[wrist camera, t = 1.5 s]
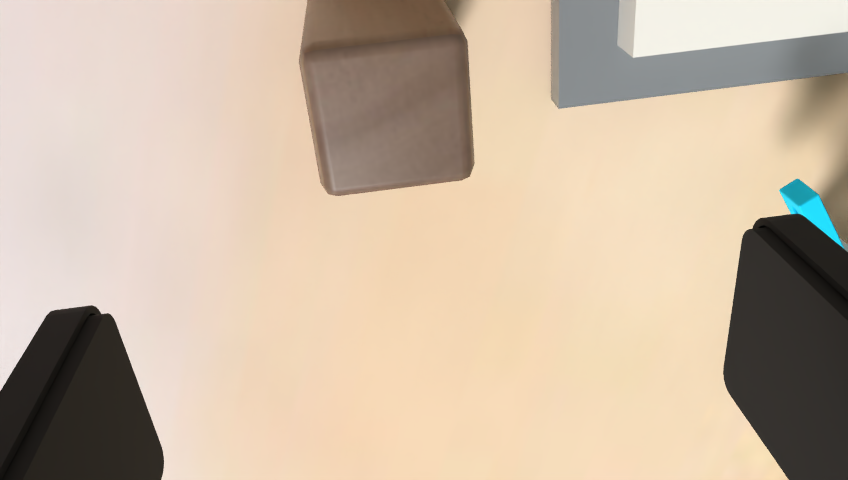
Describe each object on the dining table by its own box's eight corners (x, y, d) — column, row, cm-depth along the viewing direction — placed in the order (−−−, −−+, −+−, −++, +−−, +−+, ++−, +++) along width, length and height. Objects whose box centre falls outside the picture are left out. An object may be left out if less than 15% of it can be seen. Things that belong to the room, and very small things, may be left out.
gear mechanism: (891, 413, 37) (1048, 580, 29) (792, 464, 38) (917, 639, 30) (737, 116, 27) (906, 240, 19) (614, 197, 29) (724, 345, 21)
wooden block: (439, 85, 26) (477, 184, 19) (325, 98, 25) (323, 203, 19) (429, -34, 24) (469, 28, 17) (306, -20, 23) (295, 48, 17)
